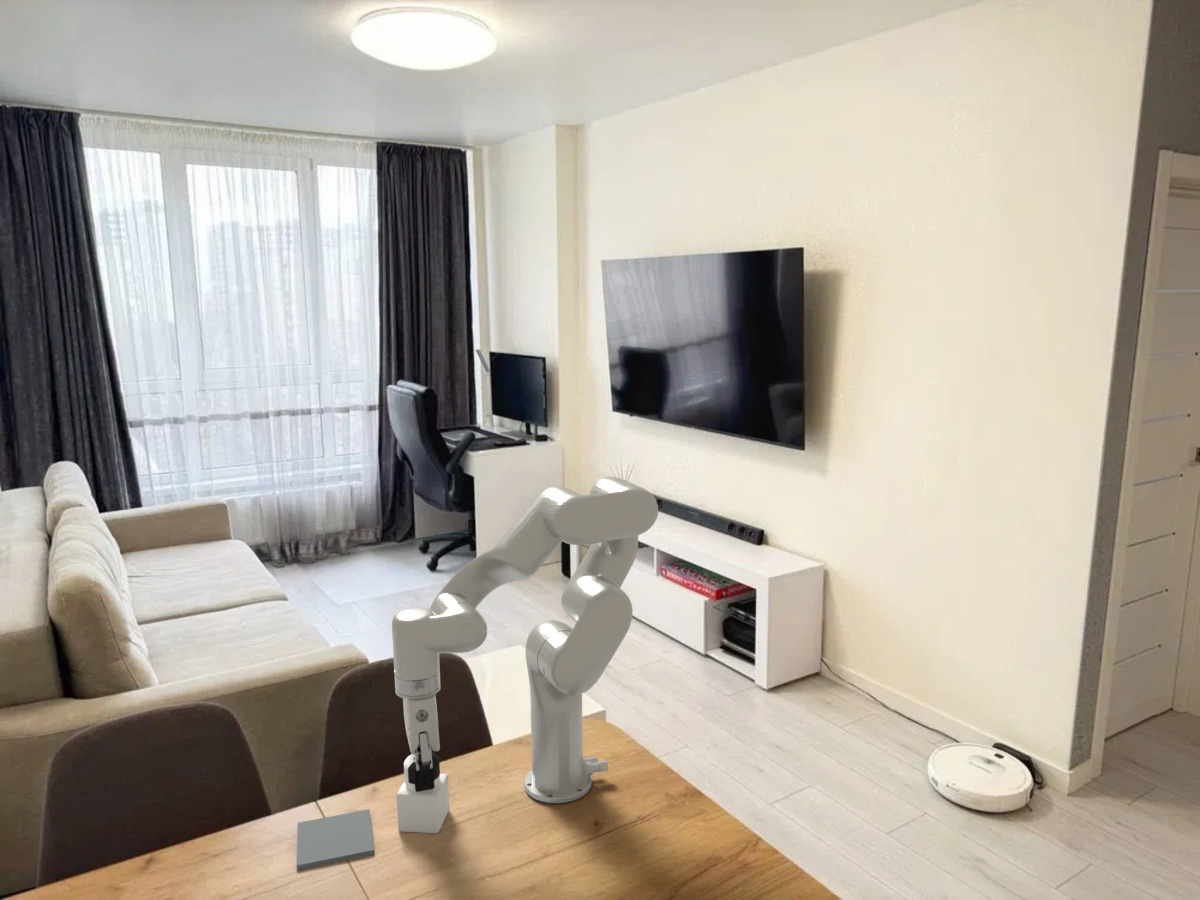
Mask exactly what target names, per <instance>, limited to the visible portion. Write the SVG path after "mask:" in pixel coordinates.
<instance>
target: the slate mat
mask: <svg viewBox="0 0 1200 900" xmlns="http://www.w3.org/2000/svg"><path fill="white" fill-rule="evenodd" d="M371 820H372V819H371V812H370V808H368V809H363V810H358V811H352V812H347V813H343V814H342V813H341V814H337V815H331V816H327V817H321V818H316V819H310V820H305V821H300V822H297V835H296V836H297V838H296V843H297V844H296V871H298V870H299V871H300V870H304V869H309V868H314V867H320V866H323V865H324V866H325V865H329V864H333V863H337V862H343V861H347V860H348V861H349V860H352V859H358V858H362V857H367V856H372V855H375V847H374V839H373V837H374V836H373V831H372V829H373V828H372V821H371Z"/></svg>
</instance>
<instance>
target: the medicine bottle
mask: <svg viewBox="0 0 1200 900" xmlns="http://www.w3.org/2000/svg"><path fill="white" fill-rule="evenodd" d="M418 758H419V760H421V755H418ZM432 764H433V767H434V786H435V787H434V789H431V790H425V791H420V792H416V791H415V778H414V769H416V765H415V755H413V754H412V755H410V754H409V755H408V756H406V759H405V760H404V762H403V775H404V777H403V778H404V781H403V783H402V784H401V786H400V788H399V789H398V792H396V807H397V808H396V811H397V812H396V813H397V825H398V827H397V828H398V831H399V832H403V833H423V834H439V832H440V830H441V828H442V826H443V824H444V822H445V820H446V817H447V815H448V813H449V811H450V793H449V792H450V791H449V790H450V789H449V788H450V787H449V775H448V774H447V773H441V767H440V757H439V755H437V754H436V753H435V752H432Z"/></svg>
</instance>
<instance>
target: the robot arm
mask: <svg viewBox="0 0 1200 900" xmlns="http://www.w3.org/2000/svg"><path fill="white" fill-rule="evenodd" d="M658 515H659V505H658V502H657V499H656V498H655V495H653V494H652V493H651V492H650V491H649V490H647V489H646V488H644V487H641V486H640V485H636V484H634V483H632V482H629V481H627V480H625V479H623V478H620V477H616V476H603V477H601V478H599V479H598V480H596V482H594V483H593V484H592V487H591V489H590V491H589V494H580V493H577V492H576V491H574V490H571V489H569V488H567V487H563V486H557V485H556V486H549V487H548V488H546V489H544V490H543V491H541V492H540V494H539V495H538V496H536V498H535V499H534V500H533V501H532V503H531V504H529V506H528V507H527V508H526V510H525V511H523V513H522V514H521V515H520V516H519V518H518V519H517V520H516V521H515V522H514V523H513V524H512V526H511V527H510V528H509V529H508V530H507V531H506V533H505V534H504V535H503V536H502V537H501V538H500V540H498V541H497V543H496V544H495V545H493V546H492V547H491V548H489V549H487V550H485V551H483V552H482V553H480V554H479V555H478V556H477V557H475V558H473V559H472V560H470V561H468V563H466V564H464V566H462V567H461V568H460V569H459V570H458V571H457V572H456V573H455V574H454V575H453V576H452V577H451V578H450V580H448V581H447V583H446V584H445V585H444V586H443V587H442V588H441V590H440V591H439V592H438V594H437V595H436V596H435V598H434V599H433V601H432V603H431V605H430V608H426V607H409V608H405V609H402V610H400V611H398V612H397V613H396V614H395V615H394V616H393V618H392V620H391V632H392V633H391V634H392V635H391V636H392V651H393V654H392V655H393V672H394V688H395V689H394V691H395V694H396V696H397V697H399V698H401V699H402V706H403V718H404V727H405V734H406V738H407V742H408V746H409V756H410V755H412V754H413V755H415V765H416V769H414V778H415V791H416V792H420V791H425V790H431V789H434V787H435V786H434V767H433V764H432V753H433V752H439V751H440V749H441V745H440V733H439V730H440V729H439V719H438V717H439V716H438V708H437V707H438V706H437V698H436V696H437V695H436V694H438V693H439V692H440V691H441V669H440V666H441V665H440V654H463V653H469V652H472V651H475V650H477V649H478V648H479V647H481V646H482V645H484V642H485V641H486V639H487V636H488V625H487V623H486V621H485V618H484V617H483V616H482V614H481V613H480V612H479V611H478V610H477V609H476V608H478V606H479V605H480V604H481V603H482V602H483V600H484V599H485V598H486V597H488V596H489V594H491V593H492V592H493V591H494V590H496V589H497V588H499V587H502V586H503V585H506V584H507V583H508V584H510V583H514V582H520V581H524V580H527V579H530V578H532V577H533V576H535V574H537V572H538V571H539V570H540V568H541V567H542V566H543V565H544V563H545V562H546V561H547V560H548V559H549V558H550V556H551V555H552V554H553V553H554V552H555V550H556V549H557V548H558V547H559V546H560V545H561V544H562V542H564V543H565V544H568V545H571V546H582V545H590V546H589V548H588V550H587V552H586V554H585V555H584V557H583V558H582V560H581V562H579V565H578V567H577V568H576V570H575V571H574V573H573V574H572V577H571V578H570V579H569V581H568V582H567V584H566V586H565V588H564V590H563V592H562V594H561V600H560V601H561V607H562V609H563V611H564V612H565V614H566V615H567V616H568V617H569V618H570V619H571V620H572V621H573V622H574V623H575V625H573V628H572V627H571V626H569V625H568V624H566V623H565V622H562V621H559V620H554V619H549V620H548V619H547V620H544V621H542V622H539V623H538V624H536V625H535V626H534V627H533V628H532V629H531V631H530V632H529V634H528V636H527V639H526V642H525V650H524V651H525V662H526V668H527V675H528V682H529V693H530V699H529V700H530V736H531V738H530V739H531V745H530V746H531V770H529V771H528V772H527V774H526V775H525V777H524V781H523V782H524V783H523V786H524V790H525V792H526V794H528V795H529V796H530V797H531V798H533V799H534V800H536V801H539V802H542V803H548V804H564V803H569V802H574V801H576V800H578V799H581V798H582V797H584V796H586V795H587V793H589V791H590V790H591V789H592V776H593V774H595V773H602V772H607V771H609V764H608V763H609V762H608V761H607V760H606V759H605V760H599V761H598V757H597V756H596V755H594V756H589V757H584V751H583V750H584V745H583V744H584V741H583V740H584V739H583V737H584V735H583V733H584V732H583V694H585V693H586V692H588V691H589V690H591V689H592V688H593V687H594V685H596V683H598V681H599V679H601V677H602V676H603V674H604V672H605V671H606V669H607V667H608V665H609V663H610V662H611V660H612V659H613V657H614V656H615V654H616V652H617V650H618V649H619V648H620V645H621V644H622V642H623V641H624V639H625V637H626V635H627V633H628V631H629V629H630V627H631V623H632V620H633V613H634V611H633V606H632V605H633V604H632V602H631V599H630V597H629V596H628V595H627V593H626V592H625V591H624V590H623V589H621V587H622V585H623V583H624V582H625V580H626V578H627V575H628V574H629V572H630V571H631V569H632V566H633V564H634V563H635V560H636V557H637V554H638V550H639V536H640V535H642V534H644V533H646V532H647V531H649V530H650V529H651V528H652V527H653V526H654V524H655V523H656V521H657V518H658ZM432 751H433V752H432ZM418 755H421V760H419V758H418Z"/></svg>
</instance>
